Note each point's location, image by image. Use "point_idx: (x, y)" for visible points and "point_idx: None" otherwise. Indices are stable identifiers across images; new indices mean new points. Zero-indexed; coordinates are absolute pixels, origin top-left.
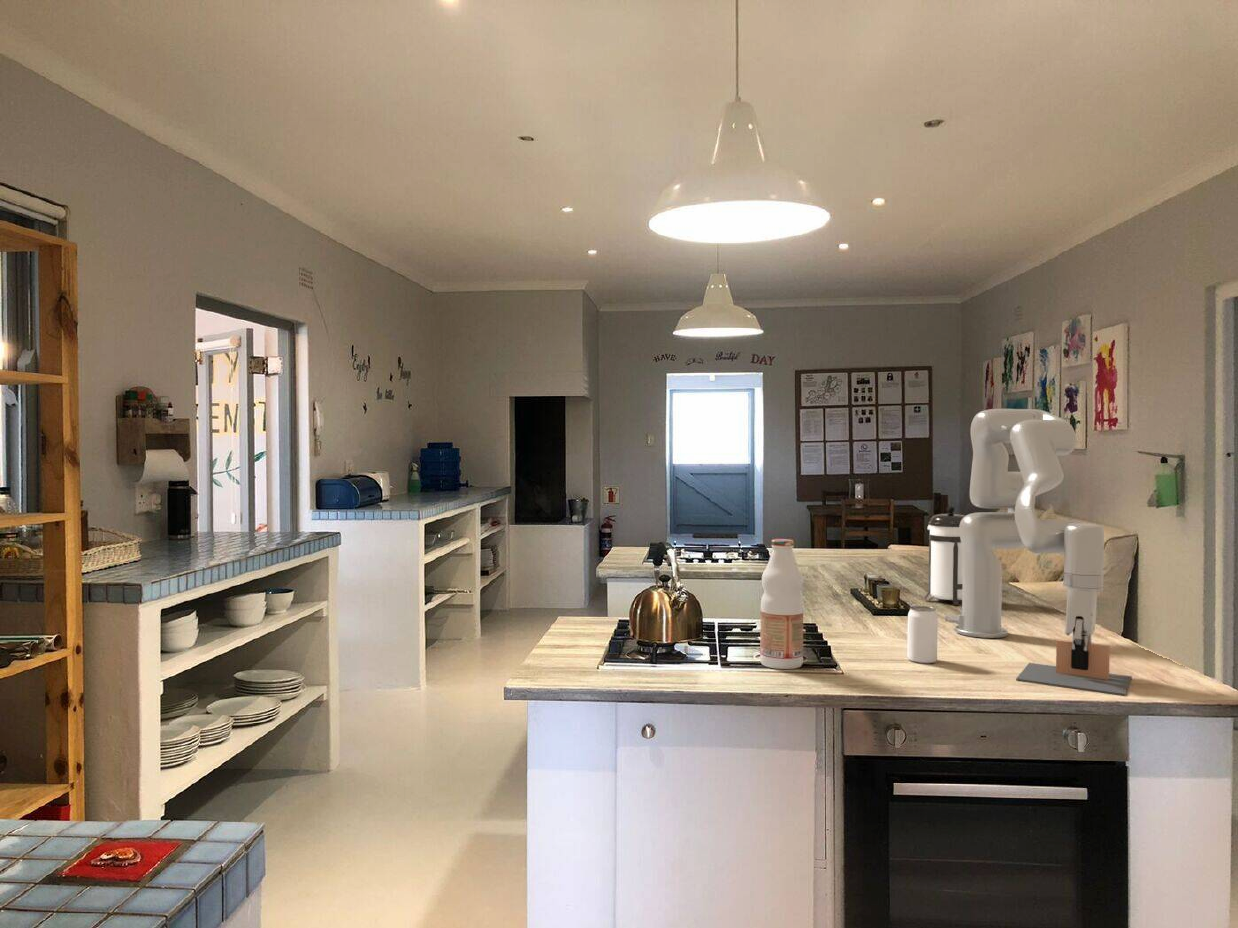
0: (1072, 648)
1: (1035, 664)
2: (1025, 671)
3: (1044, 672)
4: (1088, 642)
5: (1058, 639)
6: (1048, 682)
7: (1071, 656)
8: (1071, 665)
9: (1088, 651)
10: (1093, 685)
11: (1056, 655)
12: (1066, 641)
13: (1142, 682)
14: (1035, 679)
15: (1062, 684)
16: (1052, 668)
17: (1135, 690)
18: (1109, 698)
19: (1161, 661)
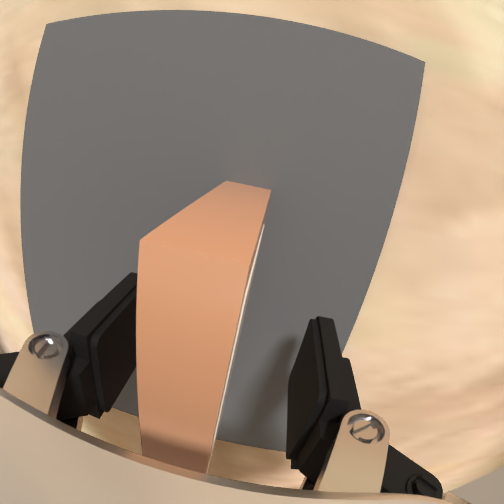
0: (31, 336)
1: (399, 86)
2: (186, 24)
3: (203, 117)
4: (306, 475)
5: (222, 273)
6: (29, 148)
7: (100, 304)
8: (127, 277)
9: (90, 414)
10: (73, 317)
11: (196, 200)
12: (141, 347)
13: (243, 457)
14: (50, 92)
15: (26, 203)
16: (334, 171)
17: (124, 418)
18: (3, 324)
19: (487, 471)
